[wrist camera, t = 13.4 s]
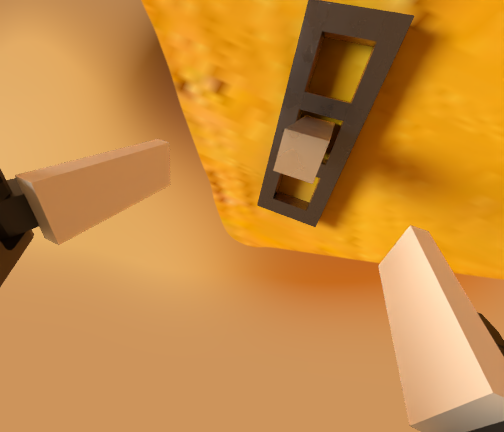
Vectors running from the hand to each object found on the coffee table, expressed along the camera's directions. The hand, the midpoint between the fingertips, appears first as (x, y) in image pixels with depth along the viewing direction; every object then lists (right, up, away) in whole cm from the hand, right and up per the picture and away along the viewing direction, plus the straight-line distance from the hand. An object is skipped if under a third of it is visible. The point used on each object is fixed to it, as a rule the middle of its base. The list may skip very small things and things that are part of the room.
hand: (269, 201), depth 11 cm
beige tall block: (+8, +11, +18) cm, 23 cm away
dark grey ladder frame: (+8, +11, +18) cm, 23 cm away
